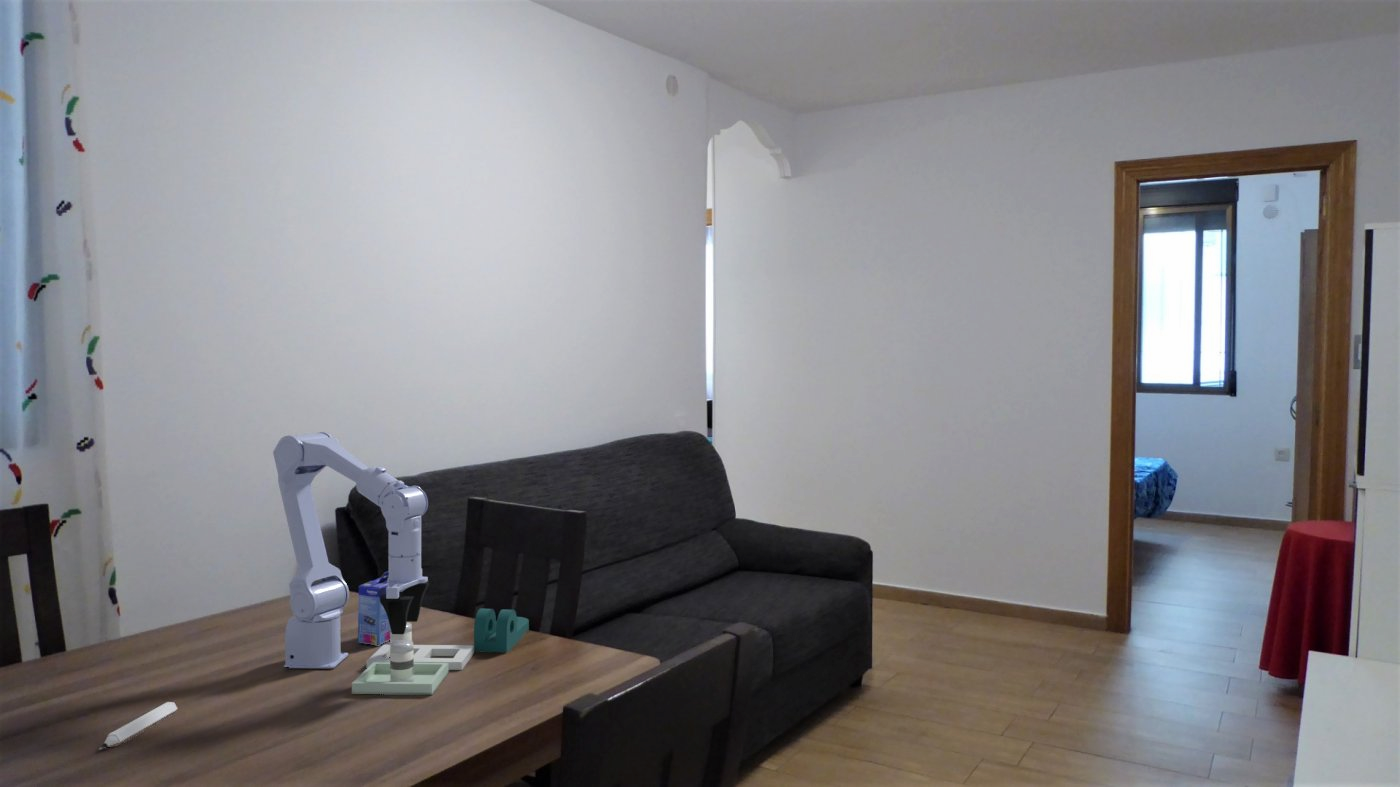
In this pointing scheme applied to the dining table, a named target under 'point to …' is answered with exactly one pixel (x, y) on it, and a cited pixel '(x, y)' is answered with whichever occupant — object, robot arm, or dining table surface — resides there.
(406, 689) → the parts tray
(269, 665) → the dining table surface
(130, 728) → the marker
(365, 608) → the ink cartridge box
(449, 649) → the fuse holder
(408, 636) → the cylinder
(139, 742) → the dining table surface
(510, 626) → the bracket
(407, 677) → the cylinder
